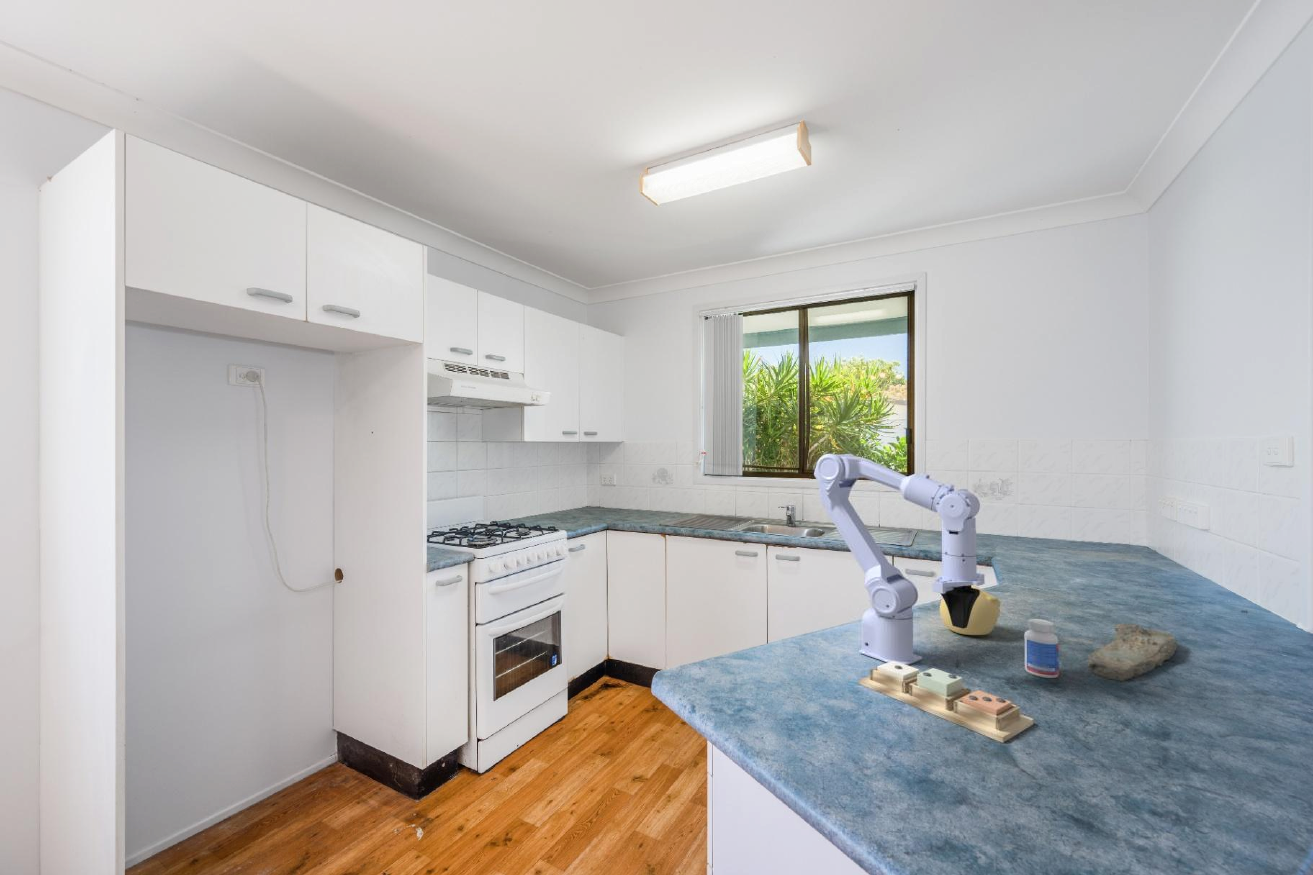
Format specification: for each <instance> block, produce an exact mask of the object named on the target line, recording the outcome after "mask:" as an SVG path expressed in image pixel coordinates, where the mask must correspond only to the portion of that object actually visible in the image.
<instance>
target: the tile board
mask: <svg viewBox="0 0 1313 875" xmlns="http://www.w3.org/2000/svg"><path fill="white" fill-rule="evenodd" d="M921 672H922V671H920V670H919V673H921ZM858 681H859V682H858V684H859V685H861V686H864V687H866V688H867V689H871V690H873V691H876V692H878V693H881V694H883V695H885V696H887V697H890V698H893V699H895V700H898V701H900V702H903V703H904V704H907V705H910V706H912V707H914V708H917V709H918V710H919V709H920V710H922V711H925V712H927V713H929V714H932V715H934V716H937V717H939V718H941V719H944V720H946V721H949V722H952V723H953V724H956V725H958V726H961V727H964V728H966V729H968V730H970V731H973V732H975V733H977V734H981V735H983V736H985V737H988V738H990V739H992V740H995V741H998V742H1000V743H1002V744H1004V743H1006V741H1009V740H1010V739H1012V738H1013V737H1015V736H1017V735H1018V734H1020V733H1021V732H1023V731H1025V730H1027V729H1028V728H1030V727H1032V726H1033V725H1034V718H1032V717H1029V716H1026V715H1023V714H1021V713H1022V708H1021V706H1019V705H1016V704H1014V703H1012V708H1011V709H1009V710H1008V711H1006V712H1004V713H1002V714H1000V715H999V716H996V715H993V714H991V713H988V712H985V711H983V710H980V709H977V708H975V707H972V706H969V705H967V704H964V703H962V698H963V697H965V696H967V695H969V694H971V693H973V692H975V691H976V690H975V691H972V689H971V688H967V687H965V686H962V691H960V692H958V693H955V694H953V695H951V696H949V697H946V696H943V695H940V694H938V693H935V692H932V691H930V690H927V689H924V688H922V687H919V686H917V676H915V677H912V678H910V679H907V680H905V681H903V680H900V679H898V678H895V677H893V676H890V675H887V674H885V673H882V672H879V671H877V666H875V667H873V668H870V669H869V675H868V676H866V677H862V678H860V679H858Z"/></svg>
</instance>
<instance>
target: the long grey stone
mask: <svg viewBox="0 0 1313 875" xmlns="http://www.w3.org/2000/svg"><path fill="white" fill-rule="evenodd" d="M1114 631H1115V632H1117V633H1115V635H1114V636H1113V639H1112V641H1111V642H1109V643H1107V644H1104V645H1102V647H1101V648H1097V649H1095V651H1093V652H1091V653H1090V654H1089V655H1088V656H1089V659H1088V662H1087V664H1086V665H1087V668H1090V669H1091V671H1092V672H1093V674H1094V675H1095V674H1096V675H1097V676H1099V677H1102V678H1106V679H1109V680H1114V681H1121V682H1122V681H1123V682H1124V681H1128V680H1129V679H1132V678H1134V677H1139V676H1141V675H1142V674H1145V673H1147V674H1148V673H1149V672H1150V671H1153V670H1155V669H1156V668H1157V667H1161V666H1163V663H1164V662H1165V661H1166V660H1169V659H1170V658H1171V657H1173V656H1174V654H1175V652H1176V650H1177V648H1178V640H1177V639H1176V637H1175V636H1174V635H1172V634H1170V633H1167V632H1164V631H1161V630H1157V629H1150V628H1144V627H1143V626H1141V625H1138V624H1136V623H1135V624H1131V625H1128V624H1126V623H1125V622H1123V623H1117V624H1116V625H1115V627H1114Z"/></svg>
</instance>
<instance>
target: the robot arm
mask: <svg viewBox="0 0 1313 875" xmlns="http://www.w3.org/2000/svg"><path fill="white" fill-rule="evenodd" d="M814 468H815V469H814V473H813V475H814V478H815V479H816V480H817V484H818V485H817V486H818V490H819V496H820V497H819V498H820V499H819V500H820V503H821V505H822V507H823V509H824V510H825V511H826V513H827V515H828V516H829V518H830V519H831V521H832V522H833V525H834V526H835V527H836V529H837V531H838V532H839V534H840V537H842V539H843V540H844V542H845V544H846V545H847V547H848V548H849V550H850V552H851V553H852V556H853V557H854V559H855V560H856V561H857V563H858V565H859V566H860V568H861V569H862V572H863V573H864V575H865V576H864V587H865V589H866V590H867V593H868V598H869V602H870V604H871V606H872V607H869V608H868V609H867V610H865V612H864V613H863V615H862V618H861V649H859V650H858V651H859V654H861V655H862V654H863V655H865V656H868V657H871V658H873V659H877V660H880V661H881V662H884V663H888V662H891V661H896V662H899V663H902V664H905V665H908V666H909V665H911V664H914V663H916V662H918V661H921V660H923V657H922V656H921V655H918V654H915V653H914V611H913V606H914V605H916V604H917V601H918V599H919V591H918V588H917V587H916V585H915V583H914V582H912V581H911V580H909V578H907V577H906V576H904V575H903V573H902V571H901V570H900V569H899V568H898V567H896V566H895V565H893V564H892V563H890V562H889V561H888V559H887V558H886V556H885V555H884V553H883V550H881V548H880V547H879V545H878V543H877V542H876V539H874V537H873V536H872V534H871V533H870V531H869V530H868V528H867V526H866V525H865V524H864V522H863V520H862V518H861V517H860V516H859V513H858V512H857V511H856V509H855V508H854V506H853V505H852V503H851V502H850V500H849V497H850V494H851V490H853V487H854V486H855V484H856V482H857V481H858V479H864V478H865V479H868V480H870V481H872V482H876V483H879V484H881V485H884V486H886V487H889V488H892V489H895V490H897V491H899V492H900V493H901V495H902V497H903V499H904V500H906V501H908V502H910V503H912V504H915V505H917V506H919V507H922V508H924V509H926V510H929V511H932V512H934V513H937V514H938V515H939V517H941V570H942V571H941V575H940V576H939V577H938V578H937V579H935V580H933V581H932V584H931V585H932V588H931V590H932V592H934V593H937V594H940V595H941V597H942V598H943V599H944V601H945V603H946V605H947V608H948V611H949V614H950V618H951V622H952V625H953V626H955V627H959V628H962V629H964V628H967V625H968V622H969V618H970V614H971V611H972V608H973V605H974V603H975V601H976V599H977V598H978V596H979V595H980V590H979V589H975V588H971V586H976V587H979V586H984V584H985V574H984V573H981V572H977V569H978V568H977V567H978V566H977V528H976V527H977V526H976V522H977V521H976V517H975V516H976V515H977V514H978V513H979V511H980V509H981V508H980V507H981V503H980V500H979V499H978V497H977V495H975V494H974V493H973V492H971V491H969V490H968V489H966V488H958V489H955V485H954V484H952V483H946V484H945V483H943V482H941V481H937V480H934V479H932V478H930V477H931V475H930V474H929V473H925V472H921V473H920V474H919V473H914V474H911V475H909V476H907V475H905V474H902V473H900V472H898V471H895V470H893V469H891V468H889V467H887V466H884V465H881V464H879V463H878V462H875V461H872V460H870V459H867V458H866V457H862V456H856V455H854V454H851V453H845V454H844V453H843V454H834V453H825V454H824V455H821V457H819V459H818V460H817V462H816V465H815V467H814Z"/></svg>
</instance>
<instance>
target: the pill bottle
mask: <svg viewBox="0 0 1313 875" xmlns="http://www.w3.org/2000/svg"><path fill="white" fill-rule="evenodd" d="M1027 623H1028V628H1029V630H1028V629H1027V630H1026V631H1025V632H1024V635H1023V637H1024V639H1023V641H1024V644H1023V645H1024V649H1023V650H1024V669H1025V671H1026V672H1027V673H1028V674H1029V675H1033V676H1035V677H1036V676H1037V677H1040V678H1045V679H1046V678H1047V679H1055V678H1056V679H1057V677H1059V673H1060V671H1059V670H1060V668H1059V667H1060V665H1059V663H1060V662H1059V656H1060V654H1059V650H1060V649H1059V647H1060V646H1059V638H1058V636H1057V635H1056V634H1054V631H1055V625H1054V624H1055V623H1054V622H1052V621H1050V620H1046V619H1040V618H1029V619H1028V622H1027Z"/></svg>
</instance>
